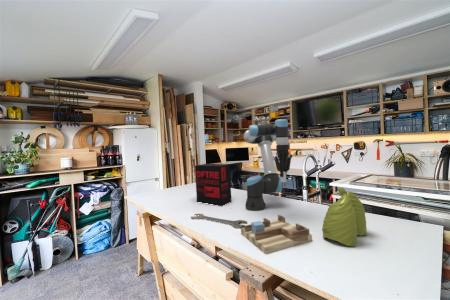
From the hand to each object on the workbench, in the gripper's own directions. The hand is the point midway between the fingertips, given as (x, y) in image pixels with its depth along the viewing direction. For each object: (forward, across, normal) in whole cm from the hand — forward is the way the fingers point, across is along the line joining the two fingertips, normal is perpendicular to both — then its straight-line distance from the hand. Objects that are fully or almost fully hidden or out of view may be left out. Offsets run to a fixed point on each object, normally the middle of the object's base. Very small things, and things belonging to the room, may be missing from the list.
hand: (283, 181), depth 135 cm
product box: (+25, +27, -62) cm, 72 cm away
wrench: (+25, +39, -19) cm, 50 cm away
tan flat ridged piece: (+24, +20, +18) cm, 36 cm away
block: (+21, +28, +16) cm, 38 cm away
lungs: (+24, -11, +33) cm, 42 cm away
